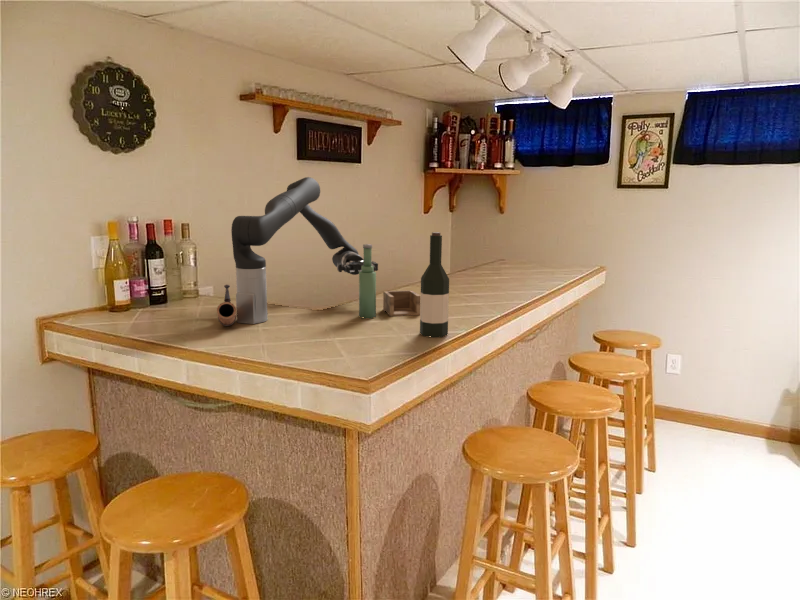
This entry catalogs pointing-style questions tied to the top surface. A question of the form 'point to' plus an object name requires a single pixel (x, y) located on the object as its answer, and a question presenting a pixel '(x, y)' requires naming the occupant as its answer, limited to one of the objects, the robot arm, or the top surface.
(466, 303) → the top surface
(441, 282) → the wine bottle
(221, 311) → the brown tobacco pipe
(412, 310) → the u rest
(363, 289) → the slim bottle
